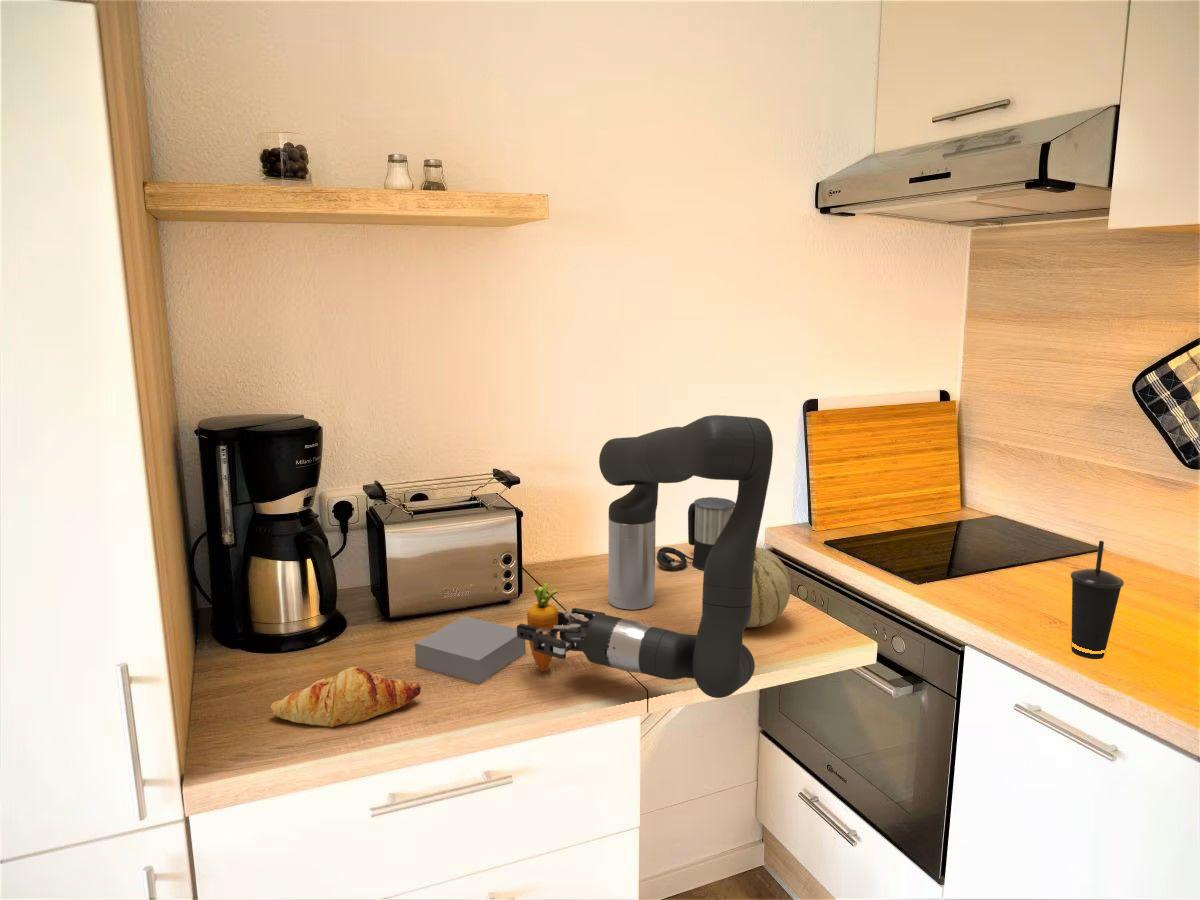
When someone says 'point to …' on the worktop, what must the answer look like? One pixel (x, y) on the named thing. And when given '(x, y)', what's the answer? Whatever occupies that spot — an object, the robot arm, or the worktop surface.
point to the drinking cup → (1093, 607)
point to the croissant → (345, 699)
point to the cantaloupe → (768, 588)
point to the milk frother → (700, 531)
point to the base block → (469, 649)
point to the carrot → (542, 621)
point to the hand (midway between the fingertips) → (530, 622)
